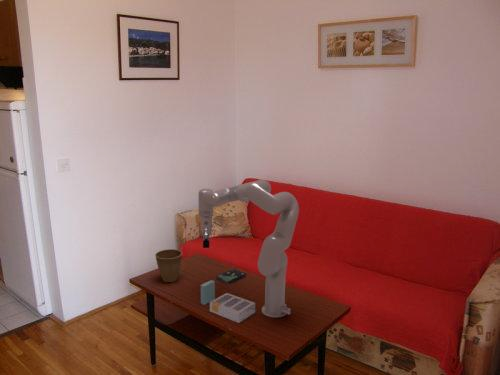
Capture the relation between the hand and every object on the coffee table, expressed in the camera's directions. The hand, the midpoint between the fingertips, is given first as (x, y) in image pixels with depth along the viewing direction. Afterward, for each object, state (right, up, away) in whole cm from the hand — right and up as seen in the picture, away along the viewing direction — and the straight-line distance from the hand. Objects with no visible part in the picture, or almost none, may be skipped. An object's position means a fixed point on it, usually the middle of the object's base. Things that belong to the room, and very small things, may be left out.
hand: (206, 244), depth 226 cm
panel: (+1, -29, -4) cm, 29 cm away
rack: (+14, -31, -15) cm, 37 cm away
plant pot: (-23, -23, +21) cm, 39 cm away
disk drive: (+12, -23, +25) cm, 36 cm away
